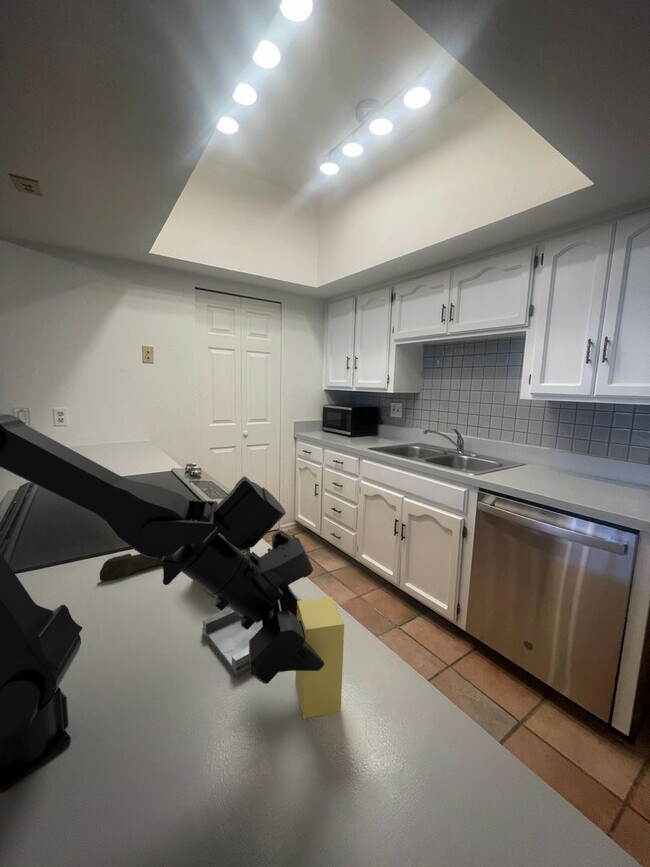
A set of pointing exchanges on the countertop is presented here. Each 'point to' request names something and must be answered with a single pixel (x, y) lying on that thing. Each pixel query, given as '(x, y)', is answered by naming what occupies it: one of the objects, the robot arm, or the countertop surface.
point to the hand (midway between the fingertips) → (313, 640)
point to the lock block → (327, 641)
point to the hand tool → (126, 566)
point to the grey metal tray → (231, 639)
